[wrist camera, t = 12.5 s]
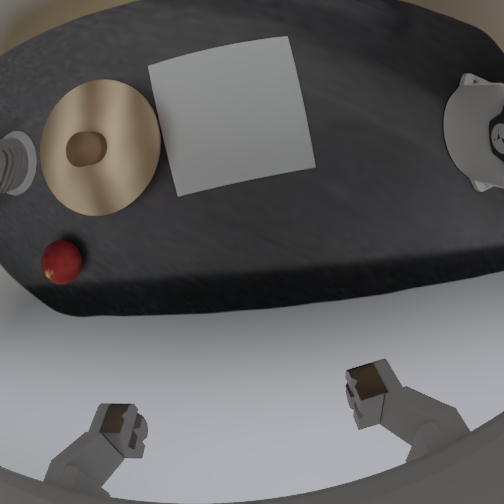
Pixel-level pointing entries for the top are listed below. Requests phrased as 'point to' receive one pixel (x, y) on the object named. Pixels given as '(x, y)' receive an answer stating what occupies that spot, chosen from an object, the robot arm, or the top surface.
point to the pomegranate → (61, 262)
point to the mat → (231, 114)
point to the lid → (100, 147)
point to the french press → (16, 163)
